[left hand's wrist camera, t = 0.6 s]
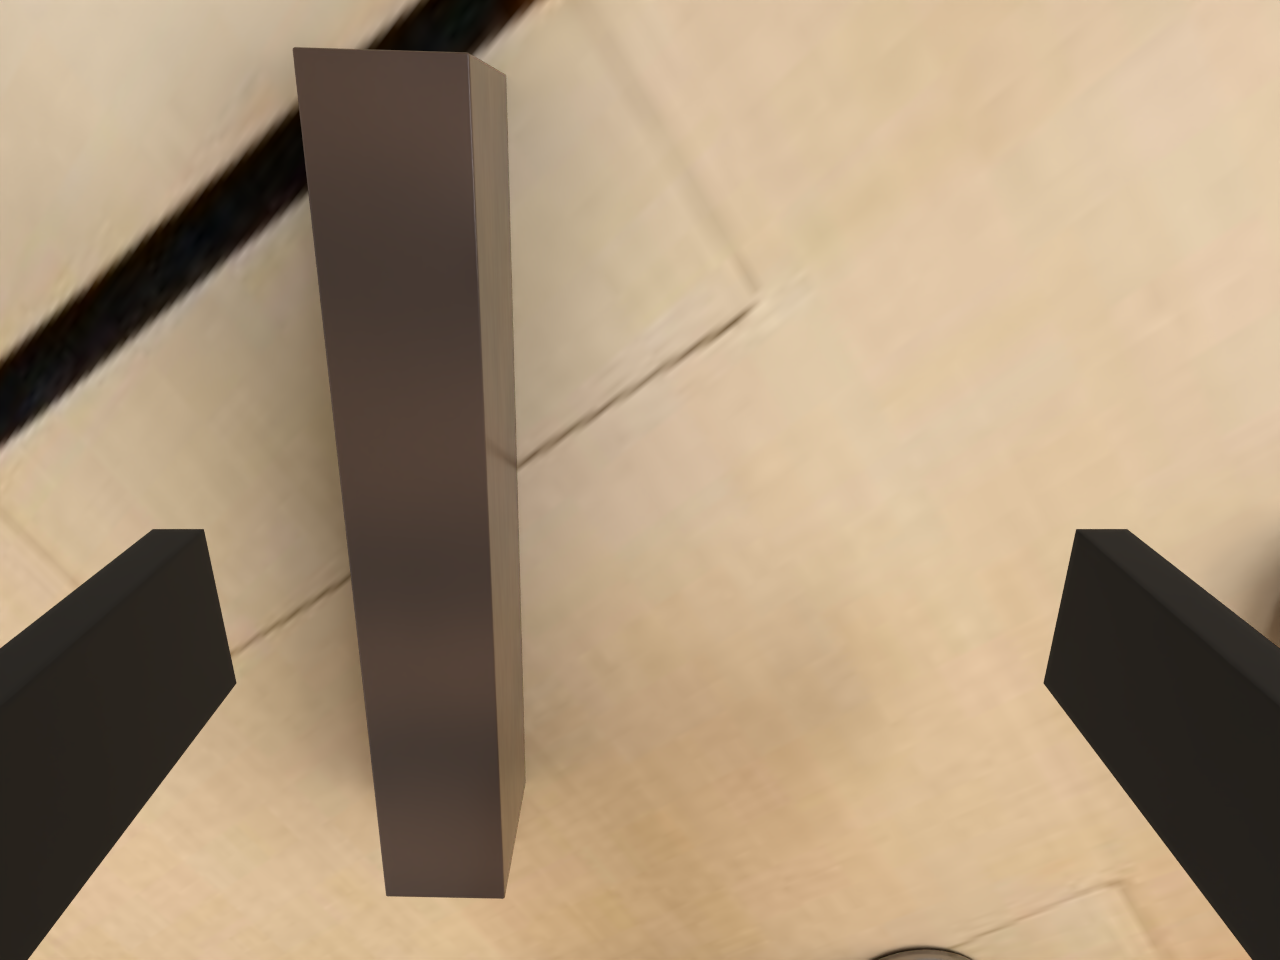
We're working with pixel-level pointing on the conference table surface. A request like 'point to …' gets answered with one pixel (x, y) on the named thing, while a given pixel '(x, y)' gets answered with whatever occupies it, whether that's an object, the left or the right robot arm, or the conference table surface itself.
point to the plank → (425, 443)
